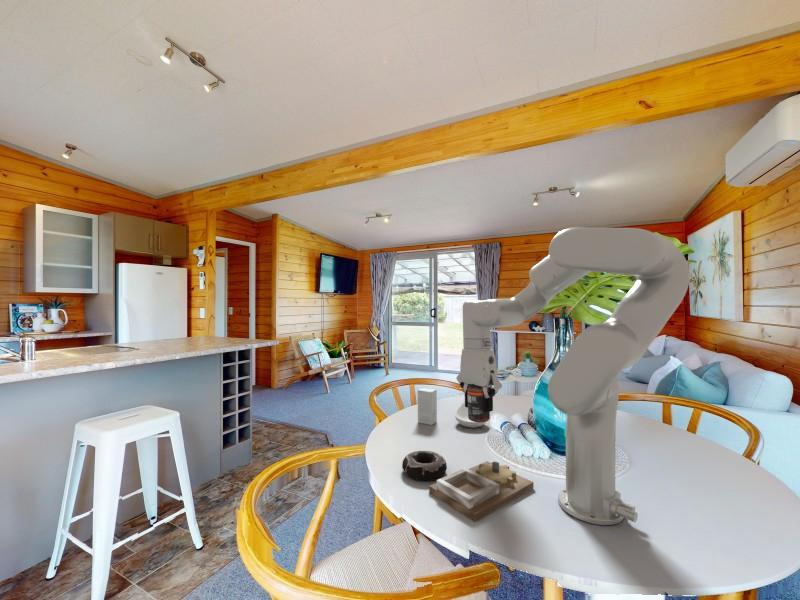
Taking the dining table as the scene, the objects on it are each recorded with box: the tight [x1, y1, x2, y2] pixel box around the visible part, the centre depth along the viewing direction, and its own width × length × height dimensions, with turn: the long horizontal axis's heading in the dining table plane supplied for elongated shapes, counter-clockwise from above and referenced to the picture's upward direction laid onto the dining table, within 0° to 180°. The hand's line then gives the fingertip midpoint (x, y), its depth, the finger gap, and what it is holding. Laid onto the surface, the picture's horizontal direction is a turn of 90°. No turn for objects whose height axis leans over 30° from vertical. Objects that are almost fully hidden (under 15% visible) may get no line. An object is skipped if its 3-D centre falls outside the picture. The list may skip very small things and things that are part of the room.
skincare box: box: [417, 387, 438, 426], centre depth 132 cm, size 6×4×12 cm
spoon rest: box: [454, 399, 486, 429], centre depth 135 cm, size 24×12×7 cm, turn 172°
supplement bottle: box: [467, 384, 491, 423], centre depth 100 cm, size 6×6×11 cm
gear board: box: [428, 460, 534, 523], centre depth 85 cm, size 14×21×5 cm, turn 127°
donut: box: [401, 450, 447, 482], centre depth 94 cm, size 12×12×4 cm
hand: (478, 408), depth 100 cm, fingers closed on supplement bottle, 6 cm apart
